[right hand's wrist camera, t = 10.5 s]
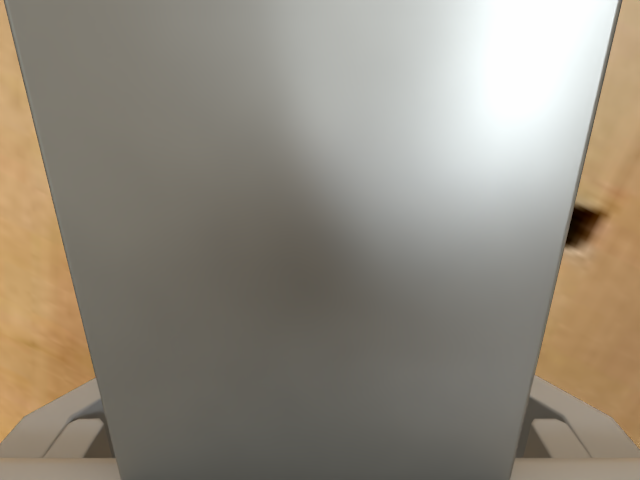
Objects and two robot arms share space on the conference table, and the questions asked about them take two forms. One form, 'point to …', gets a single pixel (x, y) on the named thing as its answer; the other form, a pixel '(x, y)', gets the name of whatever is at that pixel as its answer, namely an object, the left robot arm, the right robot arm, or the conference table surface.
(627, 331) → the conference table surface
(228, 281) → the bar
